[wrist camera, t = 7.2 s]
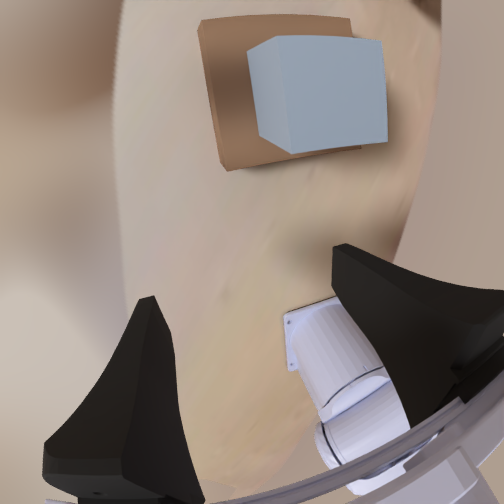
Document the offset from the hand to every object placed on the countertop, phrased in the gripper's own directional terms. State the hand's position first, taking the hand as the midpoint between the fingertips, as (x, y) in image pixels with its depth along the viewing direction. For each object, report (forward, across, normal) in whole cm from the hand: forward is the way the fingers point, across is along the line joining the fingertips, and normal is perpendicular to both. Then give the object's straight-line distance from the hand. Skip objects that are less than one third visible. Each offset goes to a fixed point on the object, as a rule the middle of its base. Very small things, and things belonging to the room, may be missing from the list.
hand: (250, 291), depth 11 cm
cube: (+7, -6, -7) cm, 11 cm away
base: (+10, -6, -7) cm, 14 cm away
